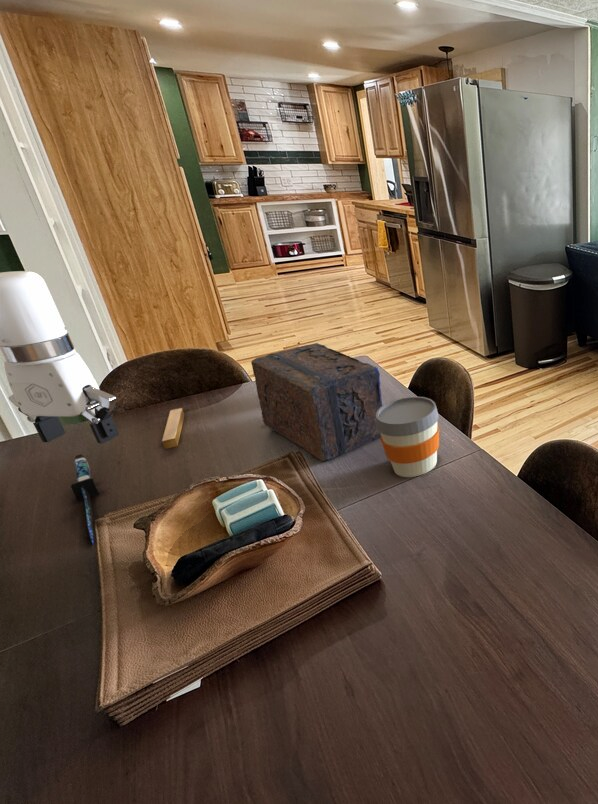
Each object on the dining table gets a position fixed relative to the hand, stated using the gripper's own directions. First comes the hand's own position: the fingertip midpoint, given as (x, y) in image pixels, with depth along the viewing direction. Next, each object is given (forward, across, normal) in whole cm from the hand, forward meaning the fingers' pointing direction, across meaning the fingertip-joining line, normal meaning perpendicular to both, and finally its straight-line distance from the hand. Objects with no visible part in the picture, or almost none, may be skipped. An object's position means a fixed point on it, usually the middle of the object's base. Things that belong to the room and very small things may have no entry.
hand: (81, 438), depth 83 cm
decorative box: (+18, +22, +33) cm, 44 cm away
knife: (+19, -9, +3) cm, 21 cm away
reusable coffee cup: (+18, +50, +18) cm, 56 cm away
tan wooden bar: (+18, -17, +32) cm, 40 cm away
